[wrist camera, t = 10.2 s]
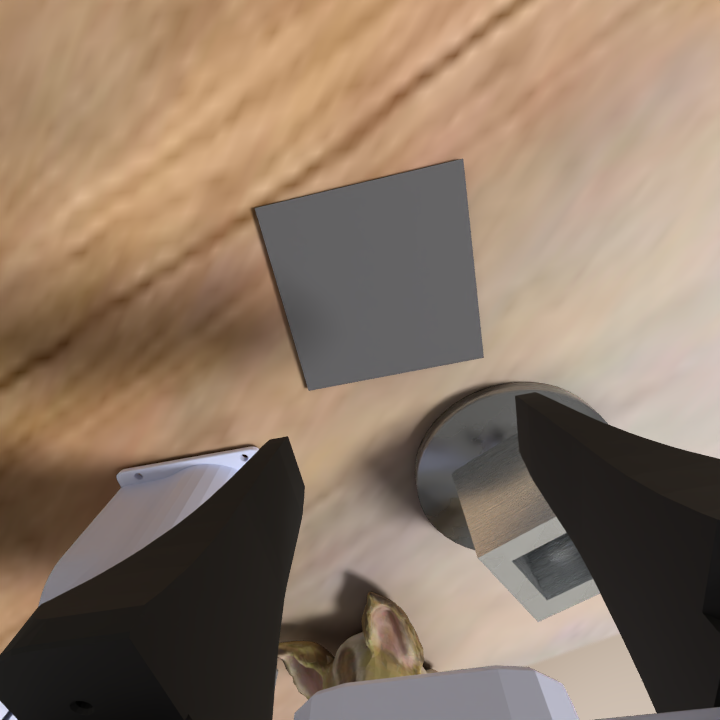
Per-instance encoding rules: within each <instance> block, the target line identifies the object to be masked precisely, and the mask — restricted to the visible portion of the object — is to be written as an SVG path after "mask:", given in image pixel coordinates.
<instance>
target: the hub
mask: <svg viewBox="0 0 720 720" xmlns="http://www.w3.org/2000/svg"><path fill="white" fill-rule="evenodd" d="M533 392H537V393H539V394H542V395H544V396H546V397H548V398H550V399H553V400H555V401H557V402H559V403H561V404H563V405H565V406H567V407H570V408H572V409H574V410H576V411H578V412H580V413H583V414H585V415H587V416H589V417H592V418H594V419H596V420H599V421H601V422H603V423H606V424H608V423H607V422H606V421H605V420H604V419H603V418H602V417H601V416H600V415H599V414H598V413H597V412H596V411H595V410H594V409H593V408H592V407H590V406H589V405H588V404H587V403H586V402H584V401H583V400H582V399H581V398H579V397H578V396H576V395H574V394H572V393H571V392H569V391H566V390H564V389H561V388H559V387H556V386H552V385H548V384H543V383H534V382H515V383H507V384H501V385H497V386H492V387H489V388H486V389H483V390H480V391H478V392H475V393H473V394H471V395H469V396H467V397H465V398H463V399H462V400H460V401H459V402H457V403H455V404H454V405H452V406H451V407H450V408H449V409H448V410H446V411H445V412H444V413H443V414H442V415H441V416H440V417H439V418H438V419H437V420H436V421H435V422H434V423H433V425H432V426H431V427H430V429H429V430H428V432H427V433H426V435H425V437H424V439H423V440H422V442H421V445H420V448H419V450H418V453H417V458H416V463H415V478H416V486H417V491H418V497H419V500H420V503H421V507H422V509H423V511H424V513H425V515H426V516H427V518H428V519H429V521H430V522H431V523H432V525H433V526H434V527H435V528H436V529H437V530H438V531H439V532H441V533H442V534H443V535H444V536H446V537H447V538H449V539H450V540H452V541H454V542H455V543H457V544H460V545H462V546H464V547H467V548H470V549H473V550H475V547H474V544H473V541H472V538H471V534H470V531H469V528H468V525H467V522H466V519H465V515H464V512H463V509H462V506H461V503H460V500H459V496H458V493H457V490H456V487H455V484H454V481H453V477H452V474H451V473H452V472H453V471H455V470H457V469H458V468H460V467H462V466H463V465H465V464H466V463H468V462H470V461H471V460H473V459H475V458H476V457H478V456H480V455H481V454H483V453H485V452H486V451H488V450H490V449H491V448H493V447H494V446H496V445H498V444H499V443H501V442H503V441H504V440H506V439H508V438H509V437H511V436H513V435H514V434H516V433H518V430H517V417H516V403H515V396H516V395H522V394H528V393H533Z"/></svg>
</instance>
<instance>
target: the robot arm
mask: <svg viewBox="0 0 720 720" xmlns="http://www.w3.org/2000/svg"><path fill="white" fill-rule="evenodd" d="M515 403H516V417H517V430H518V444H519V452H520V454H521V457H522V459H523V461H524V463H525V465H526V467H527V470H528V472H529V474H530V476H531V478H532V480H533V481H534V483H535V484H536V486H537V488H538V489H539V491H540V492H541V494H542V495H543V497H544V499H545V500H546V502H547V503H548V505H549V506H550V508H551V509H552V511H553V512H554V514H555V516H556V517H557V519H558V520H559V522H560V523H561V525H562V526H563V528H564V529H565V531H566V532H567V534H568V536H569V537H570V539H571V540H572V542H573V543H574V545H575V547H576V548H577V550H578V552H579V553H580V555H581V557H582V559H583V561H584V562H585V564H586V566H587V568H588V570H589V572H590V574H591V576H592V578H593V580H594V582H595V584H596V586H597V588H598V590H599V591H600V593H601V595H602V598H603V600H604V602H605V604H606V606H607V608H608V610H609V612H610V614H611V616H612V618H613V620H614V622H615V624H616V626H617V628H618V630H619V632H620V634H621V636H622V638H623V640H624V642H625V645H626V647H627V649H628V651H629V653H630V655H631V657H632V660H633V662H634V664H635V666H636V668H637V670H638V672H639V674H640V677H641V679H642V681H643V683H644V685H645V688H646V690H647V692H648V694H649V697H650V699H651V701H652V703H653V706H654V708H655V710H656V712H657V714H646V715H636V716H626V717H616V718H606V719H596V720H720V459H717V458H713V457H709V456H705V455H701V454H697V453H693V452H689V451H685V450H682V449H678V448H674V447H671V446H668V445H665V444H661V443H658V442H655V441H652V440H649V439H646V438H643V437H640V436H637V435H634V434H631V433H629V432H626V431H623V430H621V429H618V428H616V427H613V426H611V425H608V424H606V423H603V422H601V421H599V420H596V419H594V418H592V417H589V416H587V415H585V414H583V413H580V412H578V411H576V410H574V409H572V408H570V407H567V406H565V405H563V404H561V403H559V402H557V401H555V400H553V399H550V398H548V397H546V396H544V395H542V394H539V393H537V392H533V393H528V394H522V395H516V396H515ZM242 454H245V455H247V456H248V457H247V458H246V457H243V456H242ZM138 473H140V474H141V475H142V476H141V475H139V474H138ZM116 478H117V481H118V482H119V484H120V486H121V488H120V490H119V491H118V492H117V493H116V494H115V495H114V497H113V498H112V499H111V500H110V501H109V502H108V504H107V505H106V506H105V507H104V508H103V509H102V510H101V512H100V513H99V514H98V515H97V516H96V517H95V519H94V520H93V521H92V522H91V523H90V524H89V526H88V527H87V528H86V529H85V530H84V531H83V533H82V534H81V535H80V536H79V537H78V538H77V540H76V541H75V542H74V543H73V544H72V545H71V547H70V548H69V549H68V550H67V551H66V552H65V554H64V555H63V556H62V557H61V558H60V560H59V561H58V562H57V564H56V565H55V566H54V568H53V570H52V572H51V573H50V575H49V577H48V579H47V582H46V584H45V586H44V589H43V592H42V595H41V598H40V602H39V606H38V608H37V609H36V611H35V612H34V613H33V614H32V616H31V617H30V618H29V619H28V621H27V622H26V623H25V624H24V626H23V627H22V628H21V629H20V631H19V632H18V633H17V634H16V636H15V637H14V638H13V640H12V641H11V642H10V643H9V645H8V646H7V647H6V648H5V650H4V651H3V652H2V653H1V655H0V720H272V715H273V703H274V691H275V678H276V667H277V658H278V648H279V638H280V629H281V621H282V613H283V605H284V598H285V592H286V587H287V582H288V577H289V573H290V569H291V564H292V560H293V556H294V551H295V547H296V542H297V538H298V533H299V529H300V524H301V520H302V514H303V504H304V490H305V486H304V483H303V480H302V477H301V474H300V471H299V468H298V465H297V462H296V459H295V456H294V453H293V450H292V447H291V444H290V441H289V438H288V437H282V438H276V439H271V440H269V441H268V442H267V443H265V444H264V445H263V446H262V447H261V448H260V449H258V448H257V447H245V448H240V449H234V450H229V451H223V452H217V453H212V454H206V455H201V456H195V457H189V458H184V459H178V460H172V461H167V462H161V463H156V464H150V465H144V466H139V467H133V468H128V469H123V470H121V471H120V472H119V473H118V474H117V476H116ZM294 720H579V717H578V715H577V713H576V710H575V708H574V705H573V703H572V701H571V699H570V697H569V695H568V693H567V691H566V689H565V687H564V686H563V684H562V683H560V682H559V681H557V680H555V679H553V678H551V677H549V676H547V675H544V674H542V673H540V672H538V671H536V670H534V669H532V668H530V667H517V666H487V667H479V668H470V669H461V670H453V671H444V672H436V673H427V674H418V675H410V676H401V677H393V678H384V679H375V680H367V681H358V682H350V683H344V684H340V685H337V686H334V687H330V688H327V689H324V690H320V691H317V692H316V693H315V694H314V695H313V696H312V697H311V698H310V699H309V700H308V701H307V702H306V703H305V704H304V705H303V706H302V707H301V708H300V709H298V710H297V711H296V712H295V715H294Z"/></svg>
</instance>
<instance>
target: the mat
mask: <svg viewBox="0 0 720 720" xmlns="http://www.w3.org/2000/svg"><path fill="white" fill-rule="evenodd" d="M255 211H256V214H257V218H258V221H259V224H260V228H261V231H262V235H263V238H264V241H265V245H266V248H267V252H268V255H269V258H270V262H271V265H272V268H273V272H274V275H275V279H276V282H277V285H278V289H279V292H280V296H281V299H282V302H283V306H284V309H285V312H286V316H287V319H288V323H289V326H290V329H291V333H292V336H293V340H294V343H295V346H296V350H297V353H298V356H299V360H300V363H301V367H302V370H303V373H304V377H305V380H306V383H307V387H308V390H309V391H310V390H315V389H321V388H326V387H331V386H336V385H342V384H347V383H352V382H358V381H363V380H368V379H373V378H379V377H384V376H389V375H395V374H400V373H405V372H410V371H416V370H421V369H426V368H432V367H437V366H442V365H447V364H453V363H458V362H463V361H468V360H474V359H479V358H484V356H483V346H482V337H481V327H480V317H479V307H478V298H477V288H476V278H475V269H474V259H473V249H472V240H471V230H470V220H469V211H468V201H467V191H466V181H465V172H464V162H463V159H460V160H456V161H451V162H447V163H443V164H439V165H434V166H430V167H426V168H422V169H418V170H413V171H409V172H405V173H401V174H397V175H392V176H388V177H384V178H380V179H376V180H371V181H367V182H363V183H359V184H355V185H350V186H346V187H342V188H338V189H333V190H329V191H325V192H321V193H317V194H312V195H308V196H304V197H300V198H296V199H291V200H287V201H283V202H279V203H275V204H270V205H266V206H262V207H258V208H255Z"/></svg>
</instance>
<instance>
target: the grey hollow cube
mask: <svg viewBox="0 0 720 720" xmlns="http://www.w3.org/2000/svg"><path fill="white" fill-rule="evenodd" d="M451 474H452V477H453V481H454V484H455V487H456V490H457V493H458V496H459V500H460V503H461V506H462V509H463V512H464V515H465V519H466V522H467V525H468V528H469V531H470V534H471V538H472V541H473V544H474V547H475V550H476V553H477V557H478V559H479V560H480V561H481V562H482V563H483V564H484V565H485V566H486V567H487V568H488V569H489V570H490V571H491V572H492V574H493V575H494V576H495V577H496V578H497V579H498V580H499V581H500V582H501V583H502V584H503V585H504V586H505V587H506V588H507V589H508V591H509V592H510V593H511V594H512V595H513V596H514V597H515V598H516V599H517V600H518V601H519V602H520V603H521V604H522V605H523V607H524V608H525V609H526V610H527V611H528V612H529V613H530V614H531V615H532V616H533V617H534V618H535V619H536V620H537V621H538V622H539V621H541V620H544V619H546V618H548V617H550V616H552V615H554V614H557V613H559V612H561V611H563V610H565V609H567V608H570V607H572V606H574V605H576V604H578V603H580V602H583V601H585V600H587V599H589V598H591V597H593V596H596V595H598V594H600V591H599V590H598V588H597V586H596V584H595V582H594V580H593V578H592V576H591V574H590V572H589V570H588V568H587V566H586V564H585V562H584V561H583V559H582V557H581V555H580V553H579V552H578V550H577V548H576V547H575V545H574V543H573V542H572V540H571V539H570V537H569V536H568V534H567V532H566V531H565V529H564V528H563V526H562V525H561V523H560V522H559V520H558V519H557V517H556V516H555V514H554V512H553V511H552V509H551V508H550V506H549V505H548V503H547V502H546V500H545V499H544V497H543V495H542V494H541V492H540V491H539V489H538V488H537V486H536V484H535V483H534V481H533V480H532V478H531V476H530V474H529V472H528V470H527V467H526V465H525V463H524V461H523V459H522V457H521V454H520V452H519V444H518V433H516V434H514V435H513V436H511V437H509V438H508V439H506V440H504V441H503V442H501V443H499V444H498V445H496V446H494V447H493V448H491V449H490V450H488V451H486V452H485V453H483V454H481V455H480V456H478V457H476V458H475V459H473V460H471V461H470V462H468V463H466V464H465V465H463V466H462V467H460V468H458V469H457V470H455V471H453V472H452V473H451Z"/></svg>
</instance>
